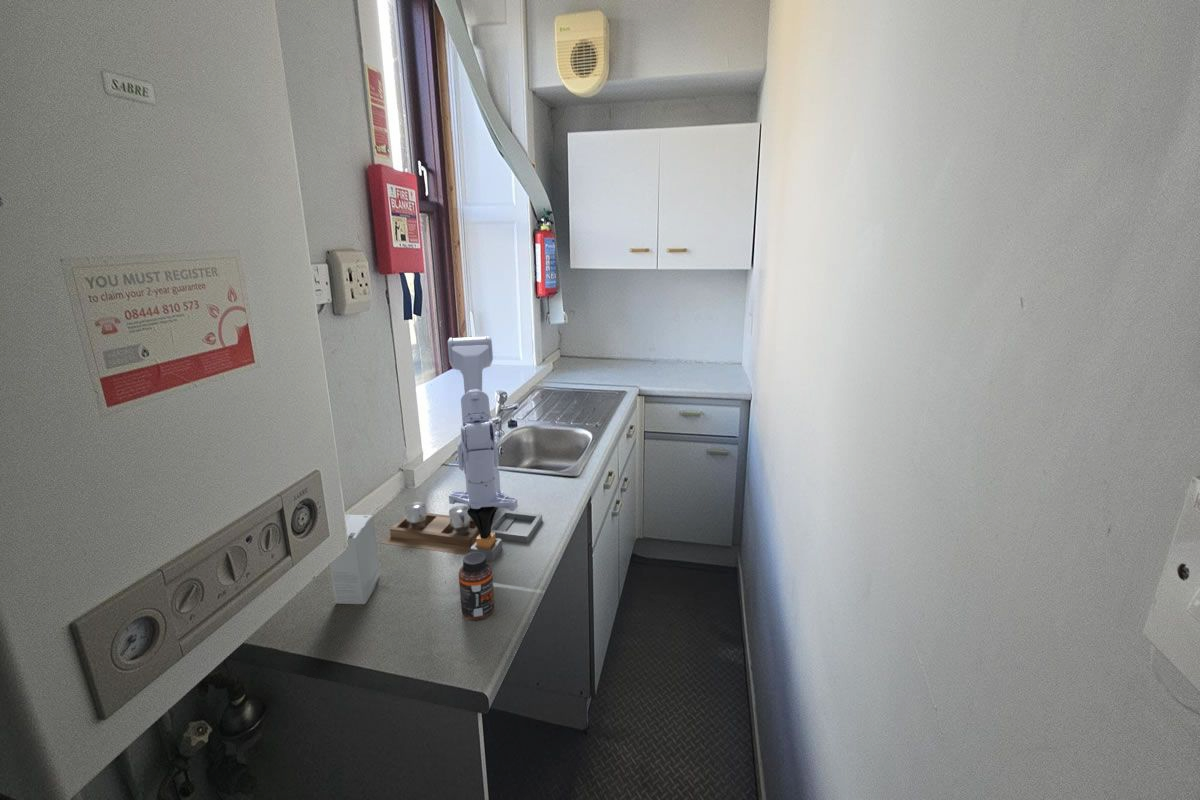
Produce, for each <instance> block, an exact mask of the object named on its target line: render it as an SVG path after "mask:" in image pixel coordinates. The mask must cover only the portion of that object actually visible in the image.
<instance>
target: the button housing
mask: <svg viewBox="0 0 1200 800" xmlns="http://www.w3.org/2000/svg"><path fill="white" fill-rule="evenodd" d="M495 539H496V543H495V544H494V545H493V547H492V548H491V549H485V548H478V547H477V544H476V542H475V543H474V545H473V546H472V547H471V548H470V553H472V552H481V553H483V554H485V556H486V562H492V563H493V562H494V561H495V560H496V559H497V557H498V556H499V554H500V553H501V552H502V551H503V540H502V539H500V538H499V537H495Z"/></svg>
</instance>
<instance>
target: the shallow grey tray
mask: <svg viewBox="0 0 1200 800" xmlns="http://www.w3.org/2000/svg"><path fill="white" fill-rule="evenodd" d="M505 518H511V519H513V520H512V521H511V523H510V525H509V526H508V527H507V528H506V530H505V531H504V530H497V529H498V527H499V526H500V524H501V523H502V522H503V521H504V519H505ZM542 522H543V514H538V513H531V512H530V513H529V512H521V511H515V510H514V511H510V510H503V509H502V510H501V512H500V513H499V514H498V516H497V517H496V518H494V519H493V523H492V526H491V532H492V533H495V538H499V539H502V541H503V540H504V541H511V542H519V543H526V544H527V543H529V541H531V538H532V537H533V535H534V534H535V532H536V531H537V529H538V528H539V526H540V525H541V523H542Z"/></svg>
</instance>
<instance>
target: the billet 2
mask: <svg viewBox="0 0 1200 800" xmlns="http://www.w3.org/2000/svg"><path fill="white" fill-rule="evenodd" d="M468 509H469V507H468V506H467V505H458V506H457V505H456V506H454V507H451V508H450V509H449V510H448V516H450V527H451V534H452V535H460V536H468V535H469V534H470V533H471V523H470V518H471V517H470V516H469V515H468V512H467V511H468Z"/></svg>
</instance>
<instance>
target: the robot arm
mask: <svg viewBox="0 0 1200 800" xmlns="http://www.w3.org/2000/svg"><path fill="white" fill-rule="evenodd" d="M493 352H494V351H493V343H492V337H490V336H489V335H486V336H472V337H469V336H468V337H453V338H452V337H449V338H448V340H447V353H448V362H449V364H450V365H449V366H450V367H451V369H454V370H457V371H459V372H460V373H461V375H462V378H463V387H464V394H463V395H462V396H461V399H460V405H461V407H460V408H461V418H462V419H461V420H462V422H461V423H462V425H461V426H460V435H461V436H460V438H459V439H458V441H457V461H458V469H459V470H461V471H463V472H464V478H465V488H466V491H452V492H451V493H450V494H448V502H449V504H451V505H455V504H463V505H468V506H469V507H468V508H469V509H468V511H467V512H468V515H469V516H470V518H472V520H473V521H474V523H475V525H476V527H477V529H478V531H479V534H480V537H481V538H488V536H489V535H490V533H491V526H492V522H494V520H495V516H496V513H497V511H498V508H500V509H508V511H514V512H515V510H516V509H517V508H518V506H519V505H518V498H517V497H510V496H508V495H504V494H503V493H504V490H501V481H500V480H501V479H500V470H499V467H498V466H499V463H500V461H499V450H498V443H497V438H496V432H495V425H494V424H495V423H494V422H493V416H491V409H490V399H489V396H488V394H487V393H486V392H483V371H484V369H486V368H489V367H491V365H492V363H493V361H494V359H493V358H494V353H493Z"/></svg>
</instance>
